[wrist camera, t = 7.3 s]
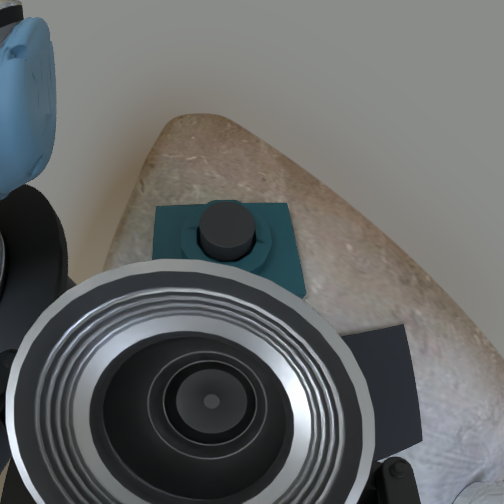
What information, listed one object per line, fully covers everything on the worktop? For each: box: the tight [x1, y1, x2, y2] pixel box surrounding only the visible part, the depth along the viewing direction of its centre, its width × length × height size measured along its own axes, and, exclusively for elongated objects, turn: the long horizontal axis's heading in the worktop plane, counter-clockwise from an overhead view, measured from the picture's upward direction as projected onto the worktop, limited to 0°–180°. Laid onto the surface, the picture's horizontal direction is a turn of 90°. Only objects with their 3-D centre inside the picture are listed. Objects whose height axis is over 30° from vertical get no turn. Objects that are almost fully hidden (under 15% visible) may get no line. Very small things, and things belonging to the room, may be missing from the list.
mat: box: [341, 324, 423, 461], centre depth 20 cm, size 12×12×1 cm
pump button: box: [199, 202, 255, 261], centre depth 21 cm, size 4×4×2 cm
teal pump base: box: [152, 200, 306, 299], centre depth 23 cm, size 12×9×4 cm
